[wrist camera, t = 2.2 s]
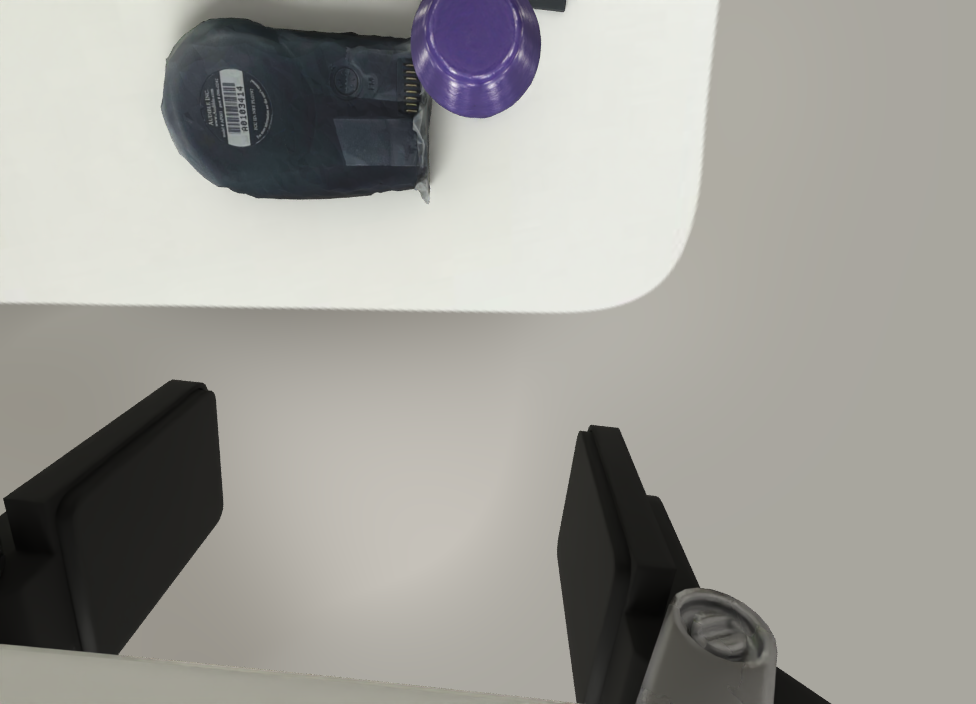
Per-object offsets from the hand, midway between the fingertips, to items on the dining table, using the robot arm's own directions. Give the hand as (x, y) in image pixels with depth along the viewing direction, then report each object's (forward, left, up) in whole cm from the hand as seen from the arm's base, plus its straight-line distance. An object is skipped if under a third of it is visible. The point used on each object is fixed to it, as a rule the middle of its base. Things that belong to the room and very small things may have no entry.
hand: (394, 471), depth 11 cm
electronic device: (-7, -10, -26) cm, 29 cm away
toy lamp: (-10, 0, -26) cm, 28 cm away
